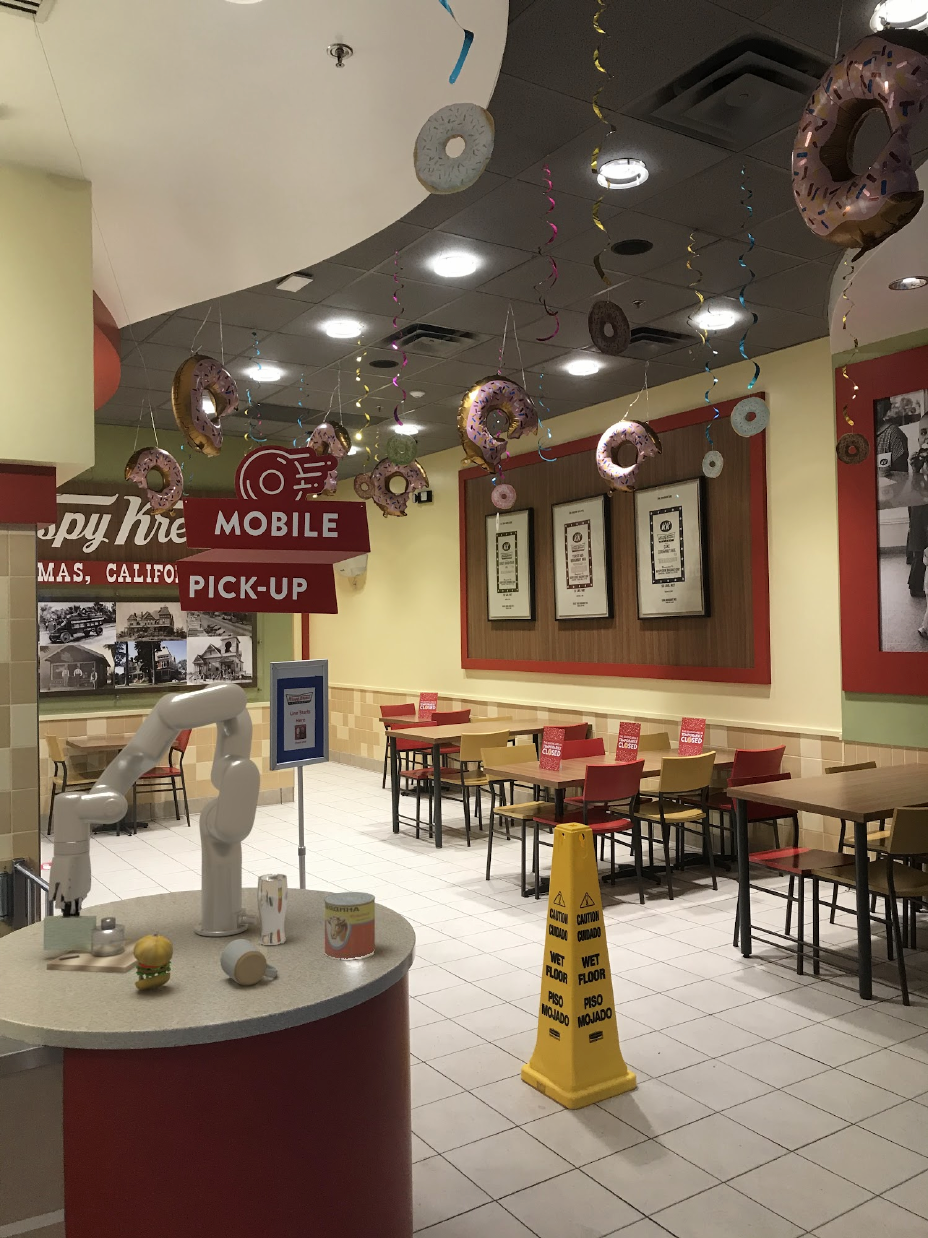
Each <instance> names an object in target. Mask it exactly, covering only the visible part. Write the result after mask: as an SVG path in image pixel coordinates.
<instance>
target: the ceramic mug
mask: <svg viewBox="0 0 928 1238" xmlns="http://www.w3.org/2000/svg"><path fill="white" fill-rule="evenodd" d="M220 967H221V970H222V971H223V972H224V973H225V975H227V976H228V977H229V978H230V979H232V980H233V981H235V982H236V983H237V984H239V985H242V986H247V987H248V986H253V985H255V984H257V983H258V982H260V981H261V980H262V979H263V978H264V977H267V978H272V979H274V978H276V977H277V973H278V971H279V970H278V969H277V968H276V967H275V966H273V965H272V964H269V963H267V959H266V957H265V955H264V954H263V952H262V951H261V950H259V948H257V947H256V946H255V945H254V944H253V943H252V942H251V941H249V940H248V939H244V938H239V939H235V940H232V941H230V942H229V943H228V944H227V945H226V946H225V947H224V949H223V950H222V952H221V954H220Z"/></svg>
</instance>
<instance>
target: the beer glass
mask: <svg viewBox="0 0 928 1238" xmlns="http://www.w3.org/2000/svg"><path fill="white" fill-rule="evenodd" d="M287 877H288V875H286V874H284V873H270V874H269V873H268V874H262V875H260V876H258V879H257V890H256V898H257V900H256V901H257V908H258V910H257V911H258V915H259V920H260V933H259V934H260V935H259V941H258V942H259V945H261V944H263V945H262V946H264V945H274V944H280V943H283V942H284V941H287V938H286V934H285V932H286V931H285V919H286V913H287V908H288V901H289V900H288V898H289V891H288V890H289V888H288V887H289V886H288V878H287ZM283 944H284V943H283Z"/></svg>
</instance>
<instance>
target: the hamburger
mask: <svg viewBox="0 0 928 1238" xmlns="http://www.w3.org/2000/svg"><path fill="white" fill-rule="evenodd" d="M137 941H138V942H137V943H136V945H135V947H134V953H133V954H134V957H135V959H137V960H138V961H139V962H138V963H137V964H138V965H136V966H135V969H137V970H136V971H135V974H136V975H137V976H138V981H135V982H134V985H135V987H136V989H137V990H140V991H148V990H153V989H156V988H159V987H162V986H163V985H165V984H167V983H168V982H169V980H170V979H171V971H172V968H171V965H170V964H172V962H171V960H172V958H173V954H174V949H173V948H174V947H173V944H172V943H171V941H170V939H168V938H166V937H165V936H163V935H160V934H159V931H157V932H155V933H153V934H147V935H145V936H143V937H141V938H140V939H139V940H137ZM144 976H145V978H144Z"/></svg>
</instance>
